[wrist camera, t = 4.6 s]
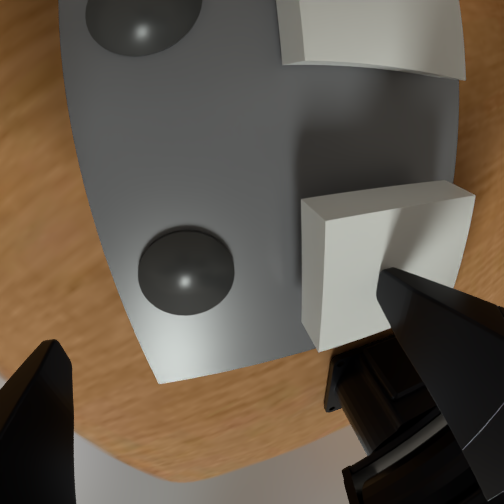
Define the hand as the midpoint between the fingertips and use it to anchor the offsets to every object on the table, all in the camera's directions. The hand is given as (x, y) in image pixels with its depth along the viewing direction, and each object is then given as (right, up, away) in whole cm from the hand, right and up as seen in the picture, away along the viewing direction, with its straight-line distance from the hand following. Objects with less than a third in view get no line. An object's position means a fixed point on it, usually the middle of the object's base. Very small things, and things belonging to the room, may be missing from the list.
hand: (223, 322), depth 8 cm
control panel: (+1, +10, +1) cm, 10 cm away
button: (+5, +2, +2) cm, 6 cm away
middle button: (+4, +9, -1) cm, 10 cm away
